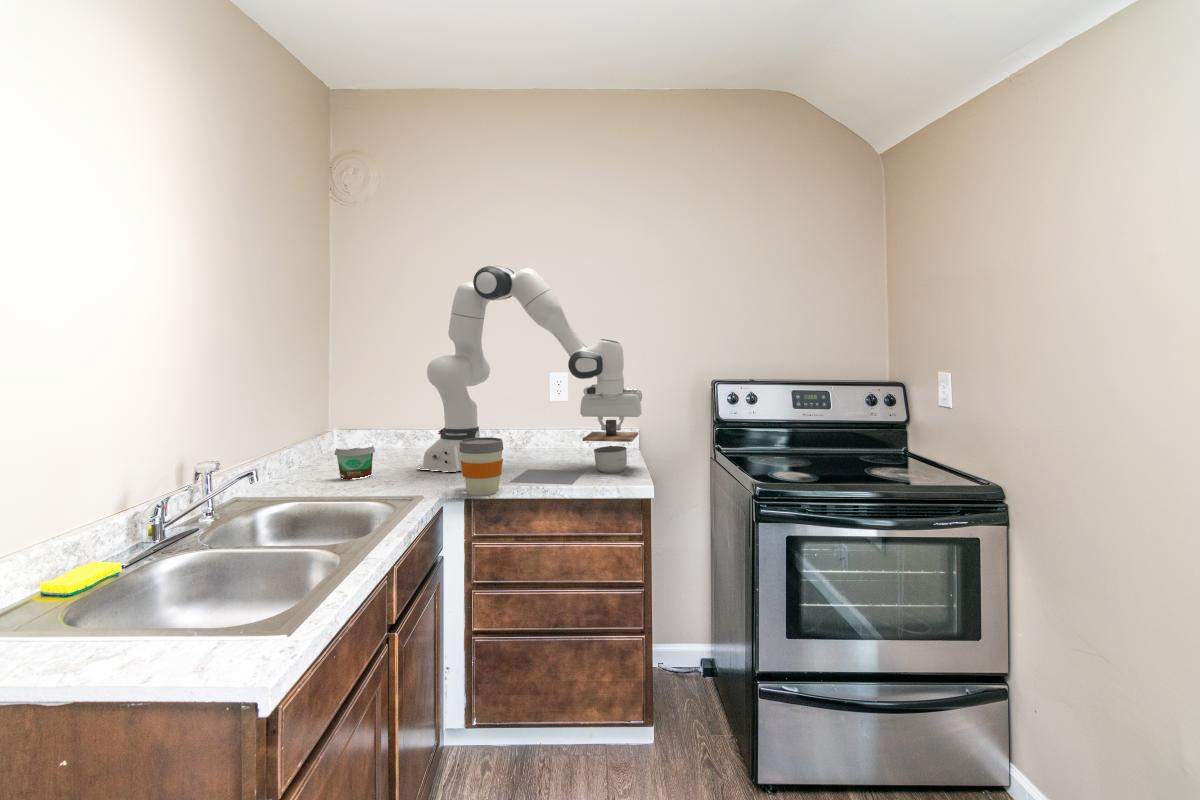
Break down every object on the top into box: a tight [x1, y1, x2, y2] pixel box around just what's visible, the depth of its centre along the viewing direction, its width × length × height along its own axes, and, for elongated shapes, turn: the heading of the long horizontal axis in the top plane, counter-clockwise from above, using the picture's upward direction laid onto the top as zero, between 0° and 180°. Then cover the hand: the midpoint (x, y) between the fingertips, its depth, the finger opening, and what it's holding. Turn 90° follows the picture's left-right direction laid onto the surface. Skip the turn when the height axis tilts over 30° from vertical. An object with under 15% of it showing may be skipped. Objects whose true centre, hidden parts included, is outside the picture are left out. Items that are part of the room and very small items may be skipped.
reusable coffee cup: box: [459, 436, 504, 497], centre depth 178 cm, size 13×12×15 cm
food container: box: [334, 445, 376, 480], centre depth 198 cm, size 12×6×10 cm, turn 118°
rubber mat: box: [508, 468, 587, 486], centre depth 197 cm, size 20×20×1 cm
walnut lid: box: [582, 419, 639, 443], centre depth 205 cm, size 16×16×6 cm
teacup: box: [593, 445, 628, 474], centre depth 206 cm, size 14×11×8 cm
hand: (611, 430), depth 205 cm, fingers closed on walnut lid, 3 cm apart
